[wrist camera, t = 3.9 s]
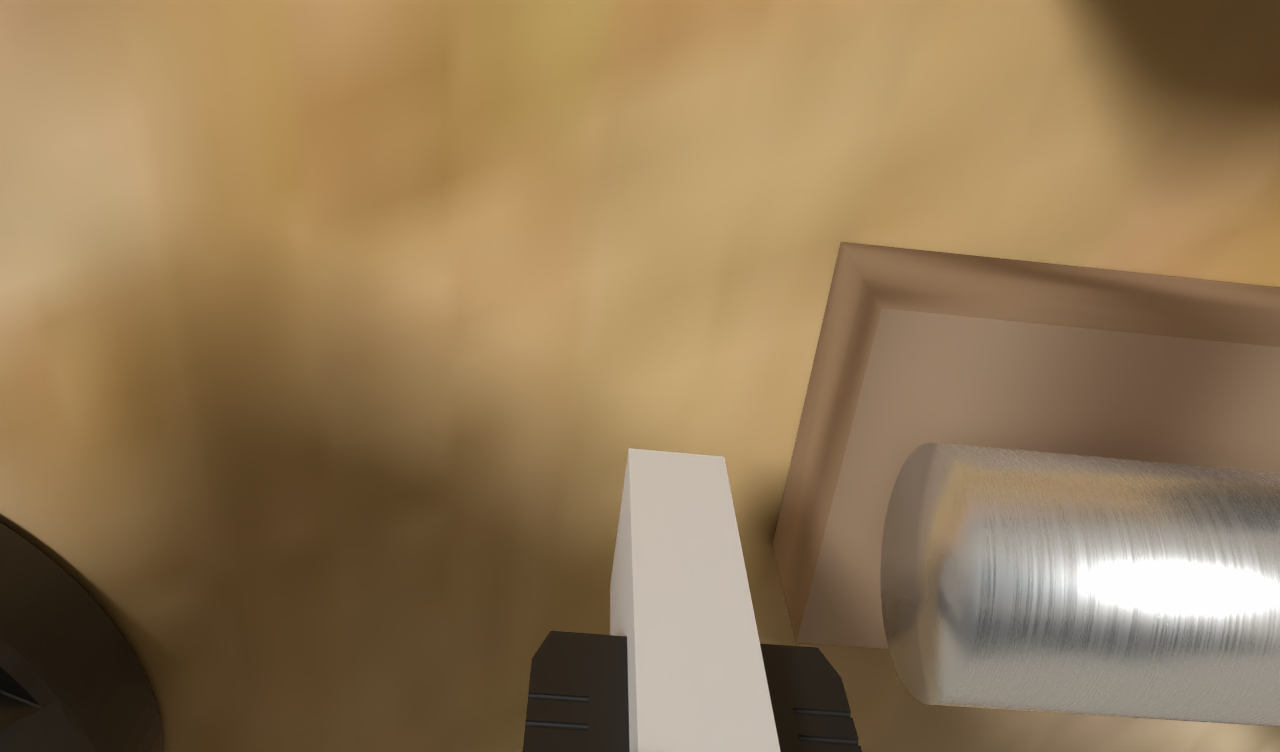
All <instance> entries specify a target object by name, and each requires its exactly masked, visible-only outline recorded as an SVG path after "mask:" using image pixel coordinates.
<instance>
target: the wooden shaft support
mask: <svg viewBox="0 0 1280 752" xmlns="http://www.w3.org/2000/svg"><path fill="white" fill-rule="evenodd" d="M933 442H934V443H945V444H957V445H968V446H980V447H991V448H1003V449H1014V450H1026V451H1037V452H1049V453H1061V454H1072V455H1084V456H1095V457H1107V458H1118V459H1130V460H1141V461H1153V462H1164V463H1176V464H1187V465H1199V466H1210V467H1222V468H1233V469H1245V470H1256V471H1268V472H1279V473H1280V288H1279V287H1269V286H1260V285H1250V284H1241V283H1231V282H1221V281H1212V280H1202V279H1192V278H1183V277H1173V276H1163V275H1154V274H1144V273H1135V272H1125V271H1115V270H1106V269H1096V268H1086V267H1077V266H1067V265H1057V264H1048V263H1038V262H1029V261H1019V260H1009V259H1000V258H990V257H980V256H971V255H961V254H952V253H942V252H932V251H923V250H913V249H903V248H894V247H884V246H874V245H865V244H855V243H846V242H841V244H840V248H839V253H838V257H837V262H836V266H835V271H834V275H833V279H832V284H831V288H830V293H829V297H828V301H827V306H826V310H825V315H824V319H823V323H822V328H821V332H820V337H819V341H818V345H817V350H816V354H815V359H814V363H813V368H812V372H811V376H810V381H809V385H808V390H807V394H806V398H805V403H804V407H803V412H802V416H801V420H800V425H799V429H798V434H797V438H796V442H795V447H794V451H793V456H792V460H791V465H790V469H789V473H788V478H787V482H786V487H785V491H784V495H783V500H782V504H781V509H780V513H779V517H778V522H777V526H776V531H775V535H774V539H773V544H772V546H773V550H774V554H775V559H776V563H777V567H778V571H779V575H780V579H781V583H782V587H783V591H784V595H785V599H786V604H787V608H788V612H789V616H790V620H791V624H792V628H793V632H794V636H795V640H796V643H803V644H818V645H832V646H847V647H862V648H876V649H889V648H888V644H887V640H886V635H885V629H884V623H883V615H882V605H881V587H880V565H881V549H882V539H883V531H884V524H885V519H886V514H887V509H888V505H889V501H890V497H891V494H892V491H893V488H894V485H895V482H896V480H897V477H898V475H899V473H900V471H901V469H902V467H903V465H904V463H905V462H906V460H907V459H908V457H909V456H910V455H911V454H912V453H913V451H914V450H915V449H917V448H918V447H919V446H921V445H923V444H926V443H933Z"/></svg>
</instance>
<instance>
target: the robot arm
mask: <svg viewBox="0 0 1280 752" xmlns="http://www.w3.org/2000/svg"><path fill="white" fill-rule="evenodd" d="M850 712H851V711H850V707H849V704H848V700H847V697H846V693H845V690H844V686H843V683H842V679H841V677H840V676H839V675H838V673H837V672H836V671H835V670H834V668H833V667H832V666H831V664H830V663H829V662H828V661H827V659H826V658H825V657H824V655H823V654H822V653H821V652H820V650H819V649H818V648H812V647H798V646H784V645H770V644H760V641H759V636H758V631H757V626H756V621H755V615H754V610H753V605H752V600H751V594H750V589H749V584H748V579H747V573H746V568H745V563H744V558H743V552H742V547H741V542H740V537H739V531H738V526H737V521H736V516H735V511H734V505H733V500H732V495H731V490H730V484H729V479H728V474H727V469H726V463H725V458H724V457H722V456H710V455H699V454H688V453H676V452H665V451H654V450H642V449H631V448H629V450H628V458H627V465H626V472H625V480H624V487H623V495H622V502H621V509H620V517H619V524H618V531H617V539H616V546H615V554H614V561H613V568H612V576H611V583H610V635H600V634H586V633H572V632H559V631H551V632H550V633H549V635H548V636H547V638H546V639H545V640H544V642H543V643H542V645H541V646H540V648H539V649H538V651H537V652H536V654H535V655H534V657H533V658H532V665H531V675H530V685H529V695H528V705H527V716H526V726H525V736H524V746H523V752H862V750H861V746H858V736H857V732H856V729H855V725H854V722H853V718H851V717H850ZM0 752H164V741H163V731H162V725H161V720H160V715H159V710H158V707H157V704H156V701H155V697H154V694H153V691H152V689H151V687H150V684H149V682H148V679H147V677H146V675H145V673H144V671H143V669H142V667H141V665H140V663H139V661H138V659H137V657H136V656H135V654H134V653H133V651H132V649H131V648H130V646H129V645H128V643H127V641H126V640H125V638H124V637H123V636H122V634H121V633H120V631H119V630H118V629H117V627H116V626H115V625H114V623H113V622H112V621H111V619H110V618H109V617H108V616H107V615H106V613H105V612H104V611H103V610H102V609H101V608H100V606H99V605H98V604H97V603H96V602H95V601H94V600H93V599H92V598H91V596H90V595H89V594H88V593H87V592H86V591H85V590H84V589H83V588H82V587H81V586H80V585H79V584H78V583H77V582H76V581H75V580H74V579H72V578H71V577H70V576H69V575H68V574H67V573H66V572H65V571H64V570H63V569H61V568H60V567H59V566H58V565H57V564H56V563H55V562H53V561H52V560H51V559H50V558H48V557H47V556H46V555H45V554H43V553H42V552H41V551H40V550H38V549H37V548H36V547H35V546H33V545H32V544H30V543H29V542H28V541H26V540H25V539H23V538H22V537H21V536H19V535H18V534H16V533H15V532H14V531H12V530H11V529H9V528H8V527H6V526H4V525H3V524H1V523H0Z"/></svg>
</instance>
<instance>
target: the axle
mask: <svg viewBox="0 0 1280 752" xmlns="http://www.w3.org/2000/svg"><path fill="white" fill-rule="evenodd" d="M880 587H881V605H882V615H883V623H884V629H885V635H886V640H887V644H888V648H889V652H890V656H891V659H892V662H893V665H894V667H895V670H896V672H897V675H898V677H899V679H900V681H901V683H902V684H903V686H904V687H905V689H906V690H907V692H908V693H909V694H910V695H911V696H912V697H913V698H914V699H915V700H917V701H919V702H920V703H924V704H929V705H944V706H960V707H976V708H992V709H1007V710H1023V711H1039V712H1055V713H1070V714H1086V715H1102V716H1118V717H1133V718H1149V719H1165V720H1181V721H1196V722H1212V723H1228V724H1244V725H1259V726H1275V727H1280V473H1279V472H1268V471H1256V470H1245V469H1233V468H1222V467H1210V466H1199V465H1187V464H1176V463H1164V462H1153V461H1141V460H1130V459H1118V458H1107V457H1095V456H1084V455H1072V454H1061V453H1049V452H1037V451H1026V450H1014V449H1003V448H991V447H980V446H968V445H957V444H945V443H934V442H933V443H926V444H923V445H921V446H919V447H918V448H917V449H915V450H914V451H913V453H912V454H911V455H910V456H909V457H908V459H907V460H906V462H905V463H904V465H903V467H902V469H901V471H900V473H899V475H898V477H897V480H896V482H895V485H894V488H893V491H892V494H891V497H890V501H889V505H888V509H887V514H886V519H885V524H884V531H883V539H882V549H881V565H880Z"/></svg>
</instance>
